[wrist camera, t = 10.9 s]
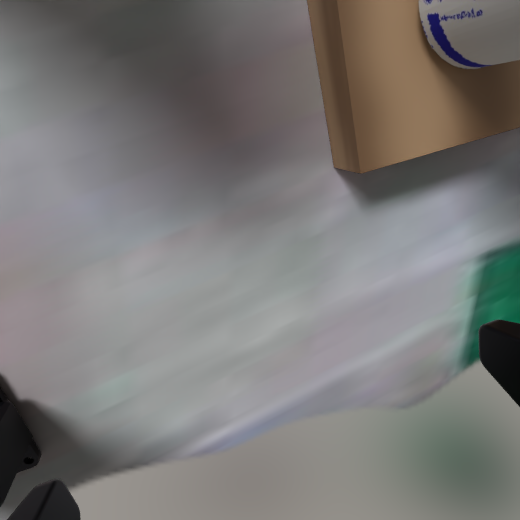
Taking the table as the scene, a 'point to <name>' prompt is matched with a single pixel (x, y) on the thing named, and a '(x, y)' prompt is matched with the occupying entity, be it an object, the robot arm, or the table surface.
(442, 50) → the beverage can
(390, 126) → the stand
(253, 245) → the table surface
